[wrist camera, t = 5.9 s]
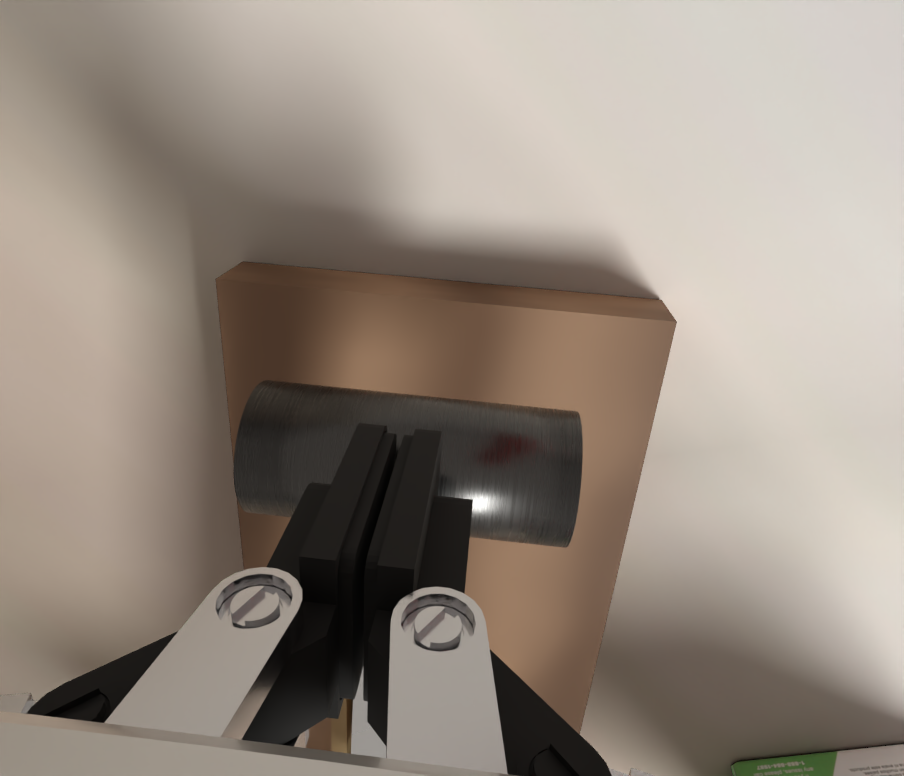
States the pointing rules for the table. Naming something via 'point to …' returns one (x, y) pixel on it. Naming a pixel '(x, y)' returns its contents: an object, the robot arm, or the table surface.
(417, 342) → the brown board with cylinder
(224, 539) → the table surface
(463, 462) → the lever
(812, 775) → the ink box
